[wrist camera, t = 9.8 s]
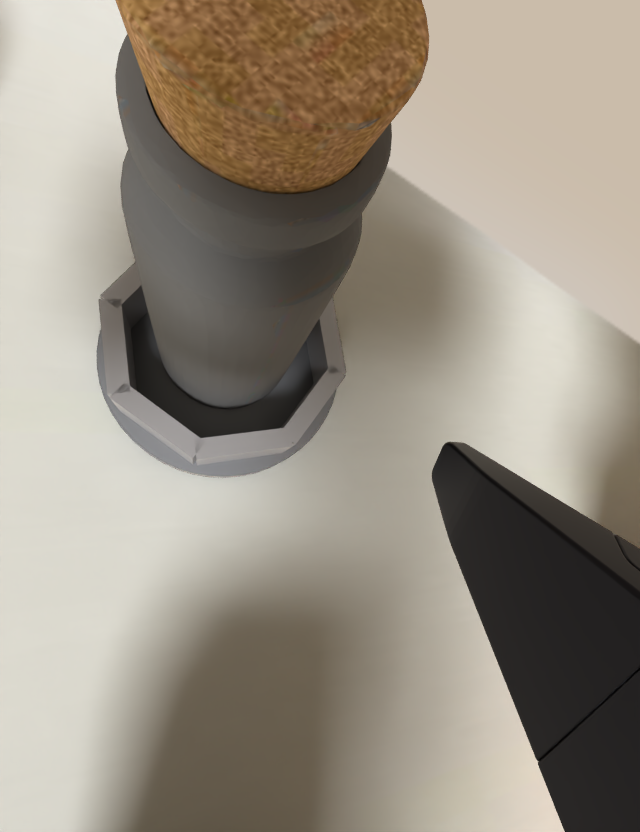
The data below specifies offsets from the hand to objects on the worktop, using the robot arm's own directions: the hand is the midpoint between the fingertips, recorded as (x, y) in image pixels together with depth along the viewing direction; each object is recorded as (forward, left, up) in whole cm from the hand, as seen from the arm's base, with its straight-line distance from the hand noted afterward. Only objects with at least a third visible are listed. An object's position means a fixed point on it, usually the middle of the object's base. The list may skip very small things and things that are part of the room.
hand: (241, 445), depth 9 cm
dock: (+6, -1, -12) cm, 13 cm away
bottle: (+6, -1, -11) cm, 13 cm away
